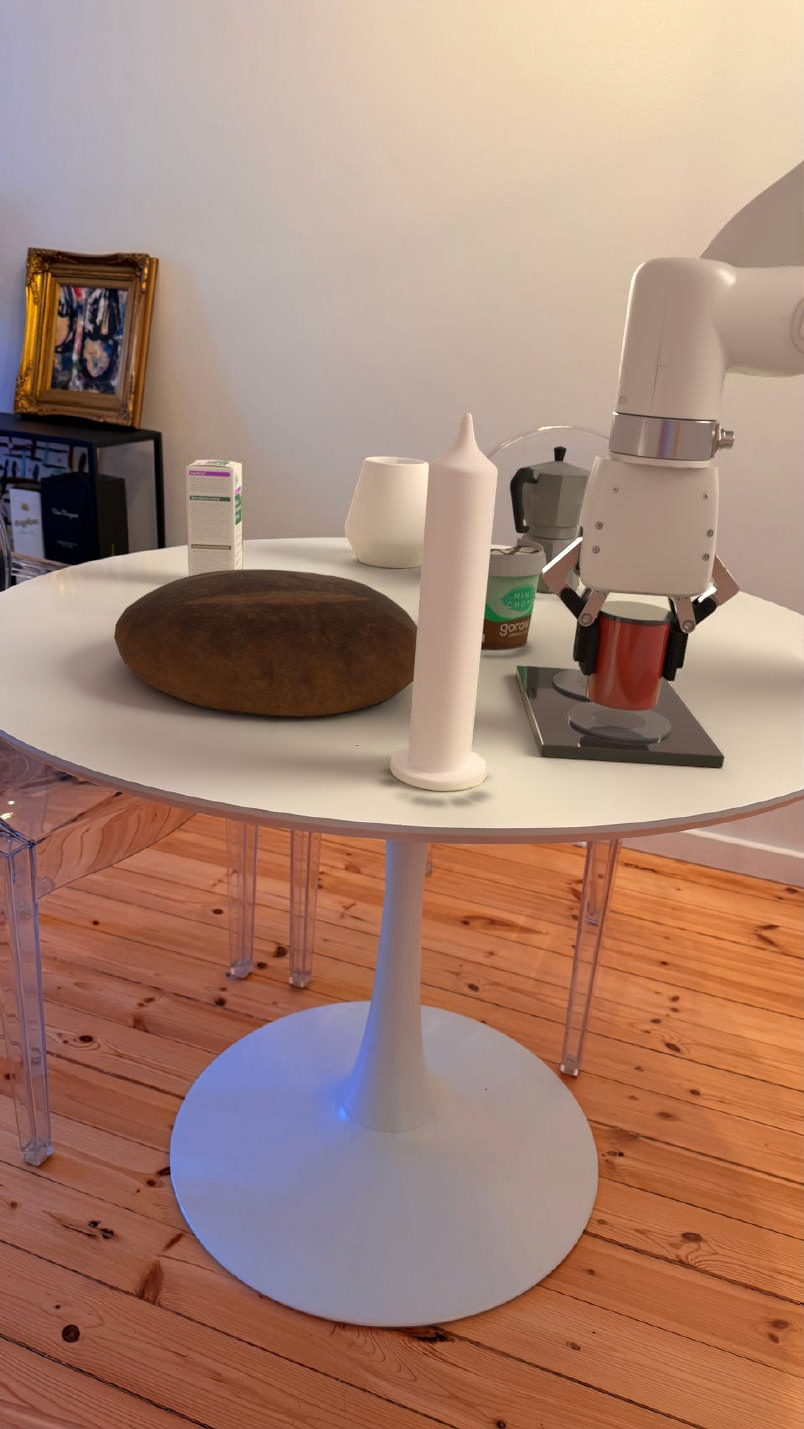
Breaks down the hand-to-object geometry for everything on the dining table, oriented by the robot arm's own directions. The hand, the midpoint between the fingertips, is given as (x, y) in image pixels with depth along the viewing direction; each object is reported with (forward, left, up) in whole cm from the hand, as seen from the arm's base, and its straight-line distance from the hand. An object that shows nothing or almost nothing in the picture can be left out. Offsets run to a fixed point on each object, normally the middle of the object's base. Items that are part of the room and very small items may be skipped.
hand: (625, 671), depth 80 cm
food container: (+7, -25, -6) cm, 27 cm away
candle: (+15, +10, -6) cm, 19 cm away
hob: (0, -4, -5) cm, 7 cm away
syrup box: (+41, -43, -6) cm, 60 cm away
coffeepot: (0, -53, -6) cm, 53 cm away
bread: (+30, -11, -6) cm, 32 cm away
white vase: (+20, -63, -6) cm, 66 cm away
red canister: (0, 0, -2) cm, 2 cm away
